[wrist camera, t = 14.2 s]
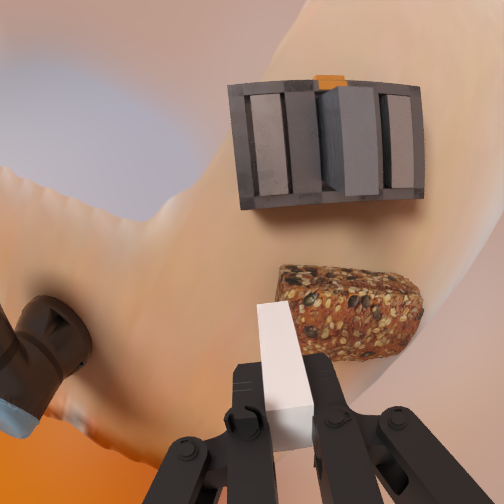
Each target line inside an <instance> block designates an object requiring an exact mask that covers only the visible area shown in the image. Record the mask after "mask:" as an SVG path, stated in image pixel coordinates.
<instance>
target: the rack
mask: <svg viewBox="0 0 504 504" xmlns="http://www.w3.org/2000/svg"><path fill="white" fill-rule="evenodd" d="M337 86H354V87H373V94H374V105H375V116H376V130H377V148H378V184H379V194H377V195H356V196H344V195H343V194H341V193H340V192H338V191H337V190H335V189H334V188H332V187H331V186H329V185H328V184H326V183H325V182H323V181H322V180H321V166H320V150H319V137H318V125H317V114H316V103H315V99H316V98H318V97H320V96H321V95H323V94H325V93H326V92H328V91H330V90H332V89H333V88H335V87H337ZM228 96H229V105H230V115H231V125H232V135H233V144H234V153H235V162H236V172H237V181H238V190H239V199H240V208H241V210H250V209H261V208H272V207H284V206H297V205H310V204H324V203H339V202H356V201H374V200H396V199H424V179H425V159H424V129H423V114H422V102H421V92H420V87H418V86H410V85H402V84H393V83H383V82H370V81H352V80H345V79H344V76H335V75H316V76H315V77H314V78H313V80H287V81H269V82H255V83H245V84H235V85H228Z"/></svg>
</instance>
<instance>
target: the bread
mask: <svg viewBox="0 0 504 504" xmlns="http://www.w3.org/2000/svg"><path fill="white" fill-rule="evenodd" d="M280 301H288V304H289V308H290V312H291V315H292V319H293V323H294V327H295V331H296V335H297V339H298V343H299V346H300V350H301V354H302V355H309V354H315V353H321V352H323V353H324V354H326V355H327V356H328V357H329V358H330V359H331V361H334V362H335V361H339V360H343V361H345V360H351V361H356V360H357V361H361V362H364V361H366V360H368V359H373V358H376V357H377V358H383V357H388V356H394V355H397V354H399V353H400V352H401V351H402V350H403V349H404V348H405V347H406V346H407V344H408V343H409V342H410V340H411V338H412V337H413V336H414V335H415V334H416V331H417V328H418V326H419V323H420V320H421V317H422V316H423V312H424V309H422V303H423V299H422V297H421V295H420V291H419V289H418V287H417V286H415V285H413V283H412V282H410V281H409V279H407V278H404V277H403V276H401V275H399V274H395V273H380V272H373V271H367V270H366V271H365V270H356V269H351V268H350V269H346V268H338V267H327V266H323V267H317V266H308V265H304V266H301V265H282V266H281V267H280V271H279V280H278V285H277V291H276V297H275V302H280Z"/></svg>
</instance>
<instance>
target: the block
mask: <svg viewBox="0 0 504 504" xmlns="http://www.w3.org/2000/svg"><path fill="white" fill-rule="evenodd" d="M315 103H316V114H317V125H318V137H319V150H320V166H321V180H322V181H323V182H325V183H326V184H328V185H329V186H331V187H332V188H334V189H335V190H337V191H338V192H340V193H341V194H343V195H344V196H356V195H377V194H379V184H378V148H377V130H376V116H375V105H374V94H373V87H354V86H337V87H335V88H333V89H332V90H330V91H328V92H326V93H325V94H323V95H321V96H320V97H318V98H316V99H315Z"/></svg>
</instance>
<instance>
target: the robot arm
mask: <svg viewBox="0 0 504 504" xmlns="http://www.w3.org/2000/svg"><path fill="white" fill-rule="evenodd" d="M257 314H258V326H259V337H260V349H261V361H262V362H255V363H245V364H238V366H237V367H236V369H235V371H234V372H233V394H232V408H230V409H229V410H228V411H227V413H226V414H225V417H224V422H225V425H226V428H227V430H226V432H224V433H223V434H221V435H220V436H217V437H215V438H211V439H208V440H205V441H202V440H201V439H199V438H196V437H183V438H179V439H178V440H176V441H175V442H173V444H172V445H171V446H170V447H169V450H168V452H167V454H166V456H165V458H164V460H163V462H162V464H161V466H160V468H159V470H158V472H157V474H156V476H155V478H154V480H153V482H152V484H151V487H150V489H149V491H148V493H147V495H146V497H145V499H144V501H143V503H142V504H217V503H218V500H219V497H220V494H221V491H222V488H223V487H224V486H227V504H278V493H277V483H276V473H275V464H274V456H273V452H278V451H286V450H294V449H300V448H307V447H312V446H313V447H314V452H315V455H314V467H316V470H317V476H318V481H319V486H320V491H321V497H322V503H323V504H384V502H383V499H382V496H381V493H380V489H379V486H378V483H377V480H376V476H377V478H378V479H379V481H380V482H381V484H382V485H383V487H384V488H385V490H386V491H387V492H388V494H389V495H390V497H391V498H392V500H393V501H394V502H395V504H495V503H494V502H493V501H492V500H491V499H490V498H489V497H488V496H487V495H486V493H485V492H484V491H483V490H482V489H481V488H480V487H479V485H478V484H477V483H476V482H475V481H474V480H473V478H472V477H471V476H470V475H469V474H468V473H467V472H466V471H465V469H464V468H463V467H462V466H461V465H460V464H459V463H458V462H457V460H456V459H455V458H454V457H453V456H452V455H451V454H450V453H449V451H448V450H447V449H446V448H445V447H444V446H443V445H442V444H441V443H440V441H439V440H438V439H437V438H436V437H435V436H434V435H433V434H432V433H431V431H430V430H429V429H428V428H427V427H426V426H425V425H424V424H423V423H422V421H420V419H419V418H418V417H417V416H416V415H415V414H414V413H413V412H412V411H411V410H410V409H408V408H405V407H402V406H394V407H391V408H388V409H387V410H385V411H384V412H382V414H381V415H361V414H358V413H356V412H354V411H352V410H351V409H350V408H349V407H348V405H347V403H346V401H345V398H344V395H343V392H342V390H341V387H340V384H339V381H338V378H337V376H336V373H335V370H334V367H333V364H332V362H331V359H330V358H329V357H328V356H327V355H326V354H324V353H323V352H321V353H315V354H309V355H302V354H301V350H300V346H299V343H298V339H297V335H296V331H295V327H294V323H293V319H292V315H291V312H290V308H289V304H288V301H280V302H273V303H265V304H257ZM91 352H92V342H91V338H90V335H89V333H88V331H87V329H86V327H85V325H84V324H83V322H82V321H81V319H80V318H79V317H78V316H77V315H76V314H75V312H74V311H72V310H71V309H70V308H69V307H68V306H67V305H65V304H64V303H62V302H61V301H59V300H57V299H55V298H52V297H49V296H37V297H35V298H33V299H32V300H31V301H30V302H29V303H28V304H27V305H26V306H25V307H24V309H23V311H22V314H21V316H20V318H19V320H18V323H17V325H16V328H15V330H13V328H12V326H11V325H10V323H9V321H8V319H7V317H6V315H5V313H4V311H3V309H2V307H1V304H0V430H1V431H3V432H4V433H6V434H8V435H10V436H13V437H16V438H19V439H23V438H27V437H29V436H30V434H31V433H32V431H33V430H34V429H35V427H36V426H37V425H38V424H39V422H40V419H41V417H42V415H43V414H44V412H45V410H46V408H47V407H48V405H49V403H50V401H51V400H52V398H53V396H54V395H55V393H56V391H57V390H58V388H59V386H60V385H61V383H62V382H63V380H64V379H66V378H67V377H69V376H70V375H72V374H73V373H75V372H76V371H78V370H79V369H81V368H82V367H83V366H84V365H85V364H86V362H87V360H88V359H89V357H90V355H91ZM375 475H376V476H375Z"/></svg>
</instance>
